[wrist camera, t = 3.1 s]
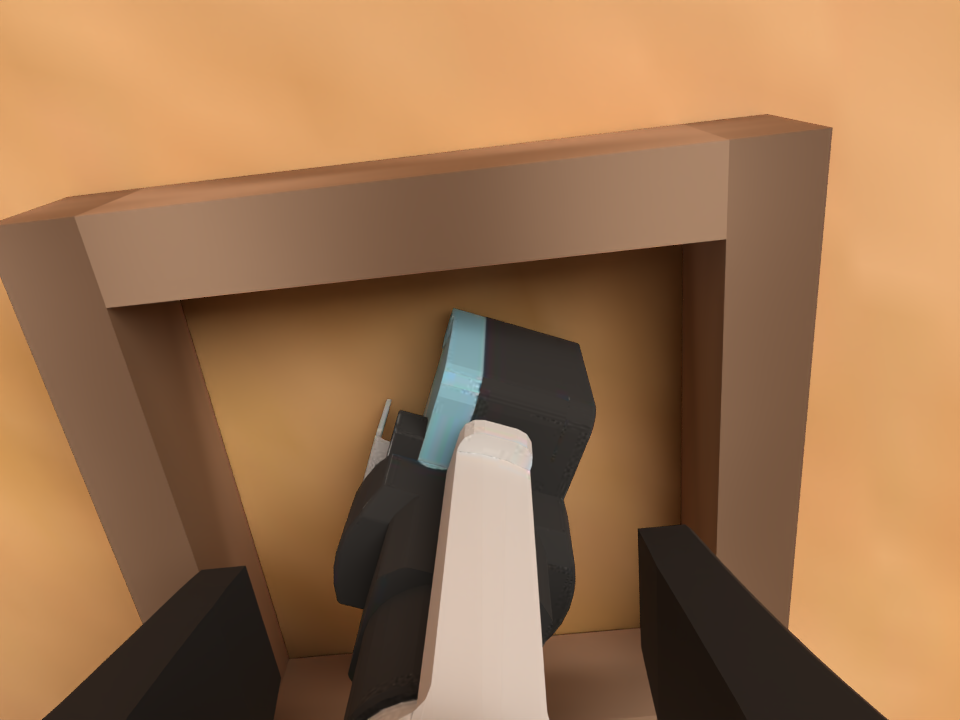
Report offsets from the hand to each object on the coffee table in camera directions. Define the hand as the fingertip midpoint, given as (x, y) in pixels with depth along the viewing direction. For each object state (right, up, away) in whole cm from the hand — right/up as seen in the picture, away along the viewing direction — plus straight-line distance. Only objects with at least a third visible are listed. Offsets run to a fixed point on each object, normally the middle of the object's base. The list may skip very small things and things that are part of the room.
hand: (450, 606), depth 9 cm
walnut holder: (0, +1, +3) cm, 3 cm away
